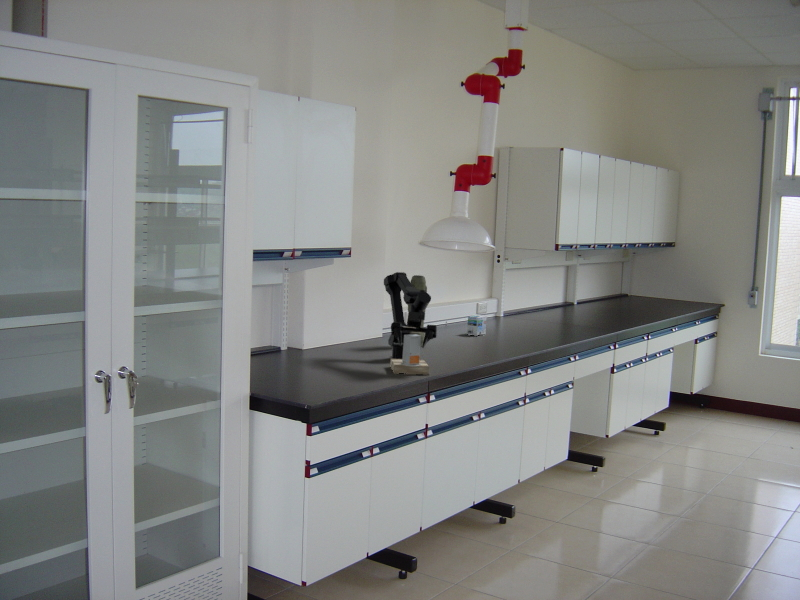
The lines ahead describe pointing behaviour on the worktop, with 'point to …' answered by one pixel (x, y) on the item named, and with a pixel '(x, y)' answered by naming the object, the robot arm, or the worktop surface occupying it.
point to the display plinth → (409, 367)
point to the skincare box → (411, 349)
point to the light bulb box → (476, 325)
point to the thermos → (419, 284)
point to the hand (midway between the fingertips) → (411, 346)
